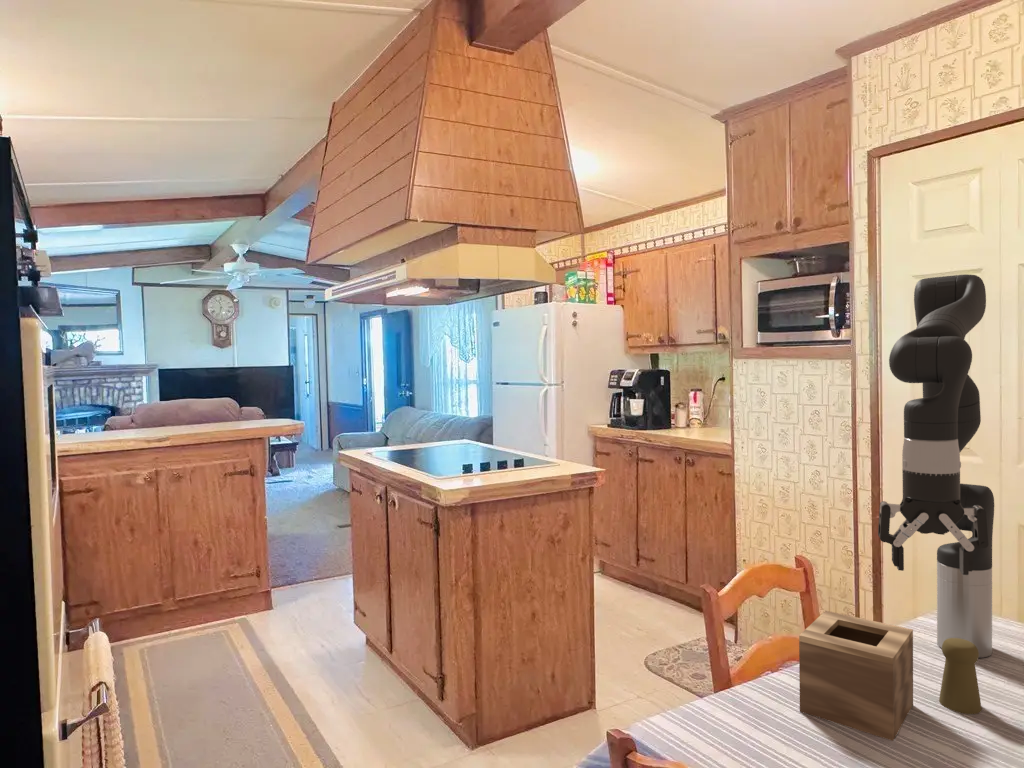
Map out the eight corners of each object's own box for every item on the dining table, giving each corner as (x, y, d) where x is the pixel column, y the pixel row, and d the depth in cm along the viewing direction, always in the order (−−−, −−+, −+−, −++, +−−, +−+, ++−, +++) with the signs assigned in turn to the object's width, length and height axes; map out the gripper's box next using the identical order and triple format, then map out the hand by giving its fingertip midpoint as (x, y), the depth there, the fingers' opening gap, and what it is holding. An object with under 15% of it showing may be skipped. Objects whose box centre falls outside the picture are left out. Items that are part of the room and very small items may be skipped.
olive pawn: (988, 715, 111) (988, 649, 110) (947, 712, 112) (947, 647, 112) (971, 697, 117) (971, 634, 116) (933, 694, 118) (933, 632, 118)
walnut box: (826, 680, 124) (825, 610, 123) (913, 705, 115) (912, 629, 114) (799, 711, 113) (799, 635, 113) (893, 741, 104) (892, 658, 104)
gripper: (978, 464, 104) (979, 567, 105) (874, 462, 109) (876, 560, 110) (993, 473, 97) (993, 583, 98) (881, 470, 102) (882, 575, 103)
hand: (931, 571), depth 104 cm, fingers open, 8 cm apart
